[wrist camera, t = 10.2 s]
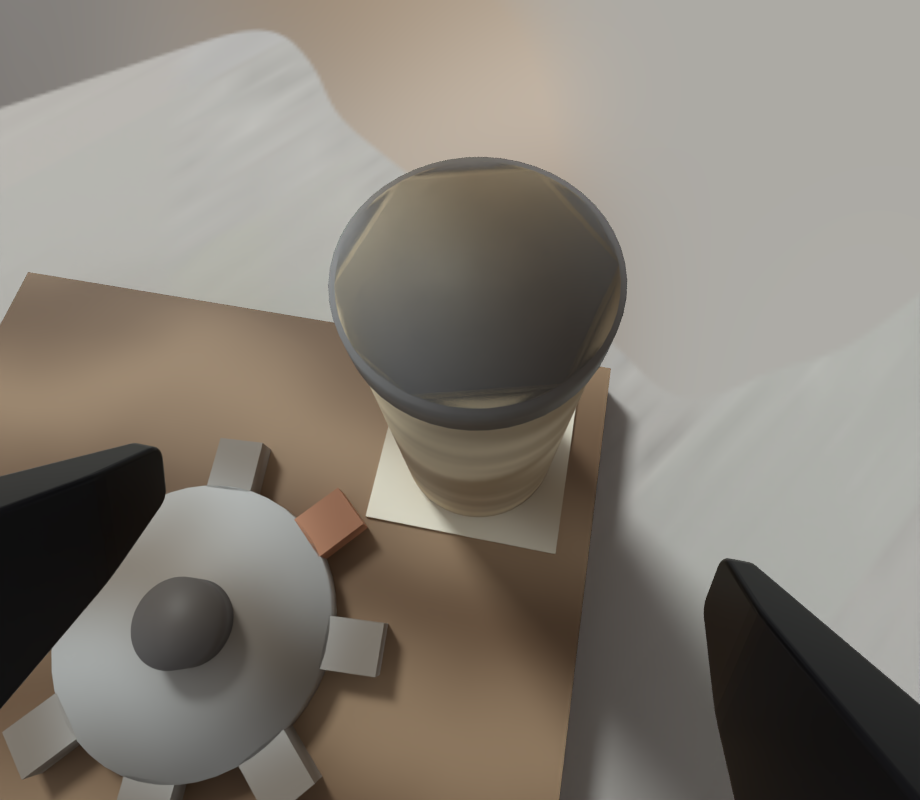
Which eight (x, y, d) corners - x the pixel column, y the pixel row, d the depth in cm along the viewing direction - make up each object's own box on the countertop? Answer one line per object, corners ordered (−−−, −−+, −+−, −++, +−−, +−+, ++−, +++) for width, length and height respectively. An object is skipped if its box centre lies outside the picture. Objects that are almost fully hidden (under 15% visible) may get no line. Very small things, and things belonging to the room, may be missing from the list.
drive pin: (487, 554, 18) (494, 481, 9) (370, 451, 19) (266, 290, 10) (586, 435, 19) (686, 258, 10) (470, 346, 20) (462, 114, 11)
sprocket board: (535, 920, 16) (548, 990, 13) (-169, 735, 18) (-302, 758, 15) (602, 384, 22) (622, 345, 18) (54, 292, 24) (-9, 243, 21)
